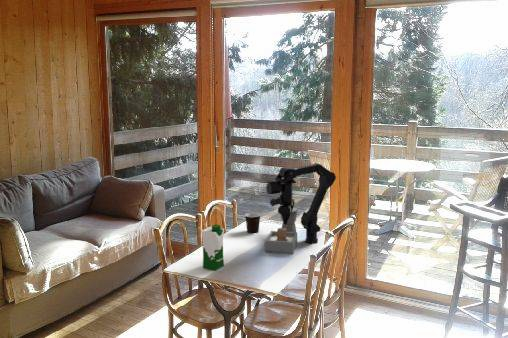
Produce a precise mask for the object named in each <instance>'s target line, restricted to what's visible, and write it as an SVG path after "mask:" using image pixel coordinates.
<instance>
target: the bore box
mask: <svg viewBox="0 0 508 338" xmlns="http://www.w3.org/2000/svg"><path fill="white" fill-rule="evenodd" d="M264 243H265V244H264V245H265V247H264V248H265V249H264V251H265V253H270V254H284V255H287V254H288V255H294V253H295V250H296V248H297V245H298V232H297V231H296V232H286V241H277V230H276V231H275V230H270V232H269V234H268V235H267V237H266V239H265V242H264Z"/></svg>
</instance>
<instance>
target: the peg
mask: <svg viewBox="0 0 508 338" xmlns="http://www.w3.org/2000/svg"><path fill="white" fill-rule="evenodd" d="M276 231H277V241H286V228H282V227H278V228H277V230H276Z"/></svg>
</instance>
